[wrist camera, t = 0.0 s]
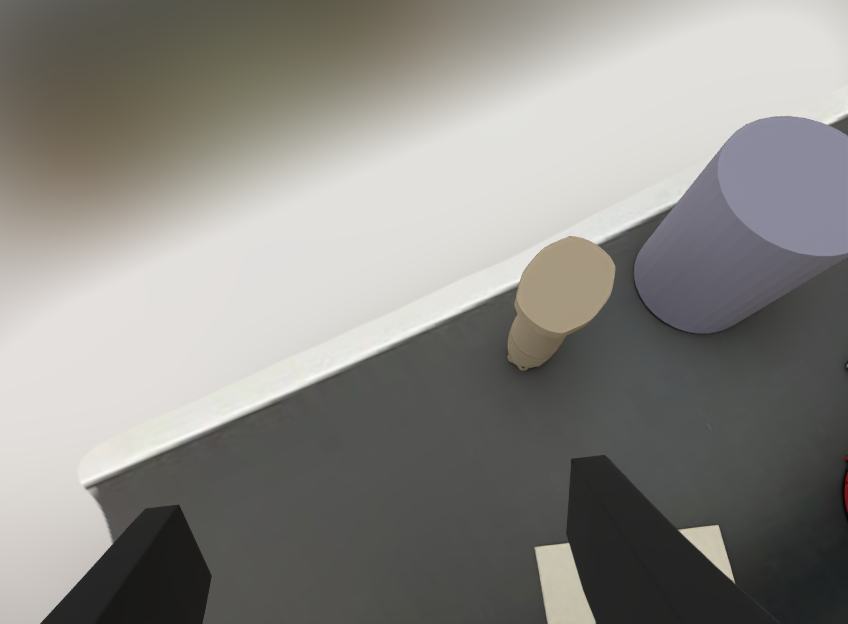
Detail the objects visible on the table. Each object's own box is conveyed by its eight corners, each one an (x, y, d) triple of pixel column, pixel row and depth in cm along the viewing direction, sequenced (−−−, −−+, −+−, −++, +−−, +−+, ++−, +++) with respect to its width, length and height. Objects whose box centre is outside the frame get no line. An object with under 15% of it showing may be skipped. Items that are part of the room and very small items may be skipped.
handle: (479, 363, 44) (500, 297, 30) (524, 310, 45) (564, 222, 31) (525, 400, 42) (569, 348, 28) (569, 343, 44) (631, 268, 30)
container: (775, 300, 45) (928, 209, 31) (681, 355, 44) (798, 285, 29) (699, 212, 48) (806, 93, 34) (609, 260, 47) (683, 156, 33)
